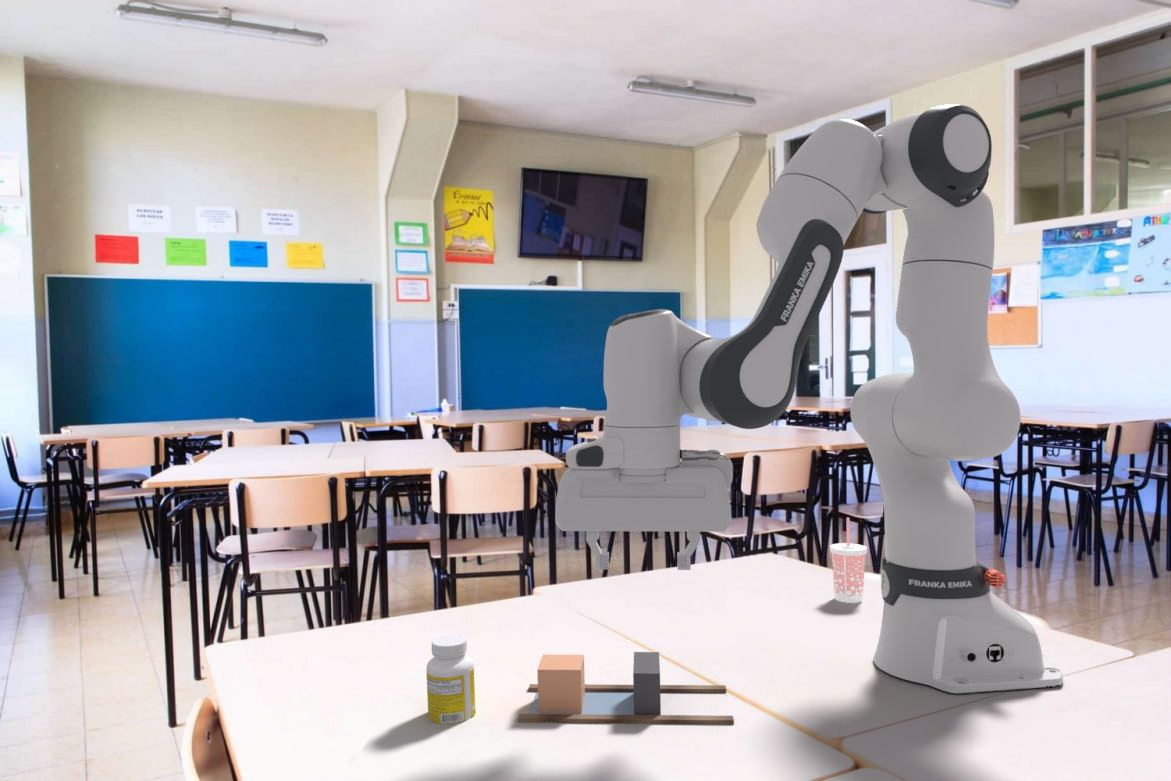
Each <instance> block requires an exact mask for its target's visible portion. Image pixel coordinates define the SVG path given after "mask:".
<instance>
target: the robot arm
mask: <svg viewBox="0 0 1171 781" xmlns="http://www.w3.org/2000/svg"><path fill="white" fill-rule="evenodd" d="M811 133H812V132H811ZM990 133H991V132H990V130H989V127H988V125H987V124H986V122H985V121H984V119H983V117H982V116H981V115H980V114H979V112H977V110H975V109H973V108H972V107H970V106H969V105H968V106H967V105H963V104H944V105H937V106H933V107H931V108H928V109H926V110H925V111H922V112H919V113H914V114H913V113H912V114H910V115H907V116H904V117H901V118H899V119H896V120H894V121H891V122H890V123H888V124H886V125H885V126H883V127H880V128H878V129H877V130H875V131H872V130H871V129H870V128H869V127H867V126H866V125H864V124H862V123H860V122H858V121H855V120H852V119H847V118H846V119H845V118H839V119H833V120H829V121H827V122H824V123H823V124H821V125H820V126H819V127H817V128H816V129H815V130H814V131H813V133H812V134H810V135H809V137H808V138H807V139H806V140H805V141H804V142H803V144H802V145H801V146H800V147H799V148H798V150H797V151H795V153H794V155H792V157H791V159H790V160H789V161H788V162H787V164H786V165H785V167H784V168H783V170H782V171H781V172H780V175H779V176H778V178H777V179H776V181H775V182H774V184H773V186H772V187H771V189H770V191H769V192H768V194H767V196H766V198H765V200H764V201H763V205H762V206H761V209H760V212H759V213H758V214H759V215H758V218H757V221H756V223H755V224H756V226H755V227H756V232H757V236H758V239H759V243H760V244H761V246H762V248H763V249H764V251H765V253H767V254H768V256H769V257H770V258H772V259H773V260H774V261H776V262H777V267H776V271H775V273H774V275H773V277H772V280H771V281H770V283H769V285H768V287H767V289H766V292H765V293H764V296H763V297H762V299H761V302H760V304H759V306H758V307H757V310H756V312H755V313H754V316H753V317H752V319H751V321H750V322H749V323H748V325H746V326H745V327H744V328H742V330H740V331H739V332H737V333H735V334H734V335H732V336H729V337H722V338H720V337H719V338H717V337H713V336H712V335H709V334H706V333H704V332H701V331H699V330H698V329H696V328H694V327H692V326H690V325H688V324H687V323H685V322H683V321H682V320H681V319H680V318H678V317H677V315H675V313H674V312H673V311H672V310H670V309H666V308H658V309H657V308H656V309H651V310H645V311H639V312H634V313H629V314H624V315H621V316H619V317H617V318H616V319H614V320H613V321H612V323H610V324H609V326H608V329H607V332H606V338H605V345H604V357H603V391H604V394H605V397H606V406H607V407H606V413H605V415H604V419H603V420H604V421H603V435H602V436H600V437H593V438H590V439H588V440H587V441H584V442H579V443H577V444H574V445H573V446H571V447H569V448H568V449H567V450H566V453H565V463H566V465H567V467H568V468H567V469H566V470H565V471H564V473H563V475H562V476H561V477H560V481H559V483H558V486H557V487H558V488H557V493H556V494H557V495H556V501H555V518H554V520H555V525H556V526H557V527H558V528H559V529H560V530H561V531H562V532H585V541H586V543H587V544H588V546H589V548H590V550H591V551H592V553H593V554H594V555H595V569H596V570H599V571H600V570H609V569H610V561H609V559H610V551H603V550H602V548H601V547H600V545H599V543H598V540H599V536H600V532H686V537H687V541H689V542H688V544H687V545H686V548H685V549H684V551H677V553H676V554H677V555H676V556H677V563H676V564H677V566H676V567H677V570H678V571H691V568H692V566H691V557H692V556H693V554H694V552H695V550H696V549H697V548H698V545H699V544H700V542H701V532H702V533H703V532H710V533H711V532H713V533H714V532H718V533H719V532H721V533H722V532H725V531H726V530H727V529H728V528H730V526H731V524H732V514H731V513H732V510H731V503H730V502H731V501H730V493H729V487H730V486H731V485H732V483H733V479H734V465H733V461H732V460H731V459H730V457H729V456H728V455H726V454H725V453H724V454H723V453H720V450H718V449H717V450H716V449H708V450H699V449H681V418H682V417H683V416H684V415H687V416H690V417H693V418H697V419H701V420H702V419H703V420H706V421H713V422H720V423H724V424H727V425H730V426H733V427H737V428H740V429H743V430H753V429H754V430H755V429H759V428H763V427H766V426H768V425H770V424H772V423H773V422H775V421H777V420H778V419H779V418H780V417H781V416H782V415H784V413H785V412H786V410H787V409H788V407H789V405H791V404H790V403H791V402H792V400H793V396H794V393H795V390H796V385H797V380H798V372H799V368H800V362H801V359H802V355H803V353H804V352H803V351H804V349H805V347H806V344H807V341H808V340H809V337H810V336H811V333H812V331H813V329H814V326H815V323H817V320H818V317H819V315H820V313H821V311H822V309H823V307H824V305H825V302H826V300H827V298H828V296H829V293H830V291H831V289H832V287H833V285H834V283H835V280H836V278H837V275H838V273H839V270H840V267H841V264H842V261H843V256H844V251H845V250H844V249H845V248H844V247H845V244H846V241H847V240H848V238H849V236H850V234H851V232H852V230H853V229H854V227H855V225H856V223H857V221H858V220H859V218H860V217H861V215H862V214H868V215H876V214H877V215H878V214H883V213H887V212H889V211H898V210H902V213H903V215H904V218H905V222H906V226H907V236H906V241H905V245H904V251H903V257H902V264H901V271H900V272H901V273H900V279H899V287H898V288H899V289H898V295H897V304H896V305H897V306H896V312H895V324H896V327H897V329H898V330H899V332H900V333H901V334H902V335H903V336H904V337H905V338H906V339H907V341H908V344H909V347H910V351H911V355H912V361H913V372H894V373H888V374H885V375H882V376H879V377H876V378H872V379H870V380H868V381H866V382H864V383H863V384H862V385H860V386H859V388H858V389H857V390H855V391H856V392H855V393H854V396H853V397H852V400H851V404H850V408H849V409H850V419H851V420H850V421H851V424H852V426H853V428H854V430H855V431H856V433H857V434H858V435H859V437H860V438H861V439H862V440H863V442H864V443H865V445H866V447H867V449H868V451H869V455H870V456H871V459H872V462H873V465H874V468H875V472H876V475H877V478H878V483H879V487H880V490H881V495H882V502H883V503H882V504H883V512H884V513H883V514H884V515H883V516H884V517H883V518H884V519H883V520H884V545H885V546H884V548H885V549H884V550H885V555H884V556H883V557H882V560H881V570H880V590H881V596H882V597H881V598H882V600H883V609H882V610H883V611H882V619H881V625H880V632H879V638H878V641H877V646H876V649H875V652H874V655H873V658H872V659H873V664H875V666H876V667H877V668H879V670H882V671H883V672H885V673H886V674H889V675H891V676H894V677H897V678H900V679H902V680H906V681H909V682H914V683H918V684H923V685H927V686H930V687H933V688H934V689H935V688H936V689H938V690H941V691H943V692H947V693H950V694H966V693H968V694H969V693H970V694H971V693H980V692H981V693H982V692H993V691H994V692H995V691H996V692H997V691H1009V690H1010V691H1011V690H1022V689H1024V690H1025V689H1037V688H1039V689H1040V688H1050V687H1049V686H1052V687H1056V686H1055V685H1060V684H1062V685H1063V683H1062V682H1064V678H1063V672H1062V670H1061V669H1060V667H1059V666H1058V665H1057V664H1056V663H1055V662H1054V661H1053V660H1052V659H1050V658H1049V657H1047V656H1045V655H1043V651H1042V646H1041V642H1040V639H1039V635H1038V633H1037V631H1036V629H1035V628H1034V626H1033V624H1032V623H1031V622H1030V621H1029V620H1028V619H1026V617H1024V615H1022V614H1020V613H1019V612H1018V611H1016V610H1015V609H1014V608H1013V607H1012V606H1010V605H1009V604H1008V603H1006V602H1005V600H1004V601H1003V599H1001V598H1000V597H998V596H997V595H996V594H994V593H993V592H991V586H992V587H993V588H995V589H999V588H1002V587H1003V586H1004V585H1005V584H1006V581H1007V579H1006V576H1005V575H1004V574H1003V573H1002V572H1000V571H998V569H996V568H988V567H987V566H984V565H982V564H981V563H979V562H978V561H976V510H975V505H974V502H973V500H972V498H971V497H970V495H969V494H968V493H967V492H966V491H965V490H964V489H963V487H962V486H961V485H960V483H959V482H958V479H957V478H956V475H955V473H954V471H953V468H952V465H951V461H956V462H967V461H978V460H984V459H991V458H995V457H997V456H1000V455H1001V454H1003V453H1005V452H1006V451H1007V450H1008V449H1010V447H1011V446H1012V445H1013V443H1014V441H1015V440H1016V438H1017V436H1018V434H1019V431H1020V427H1021V426H1020V425H1021V409H1020V404H1019V402H1018V400H1017V398H1016V396H1015V394H1014V393H1013V391H1012V390H1011V389H1010V388H1009V387H1008V386H1007V385H1006V384H1005V382H1004V381H1002V379H1001V377H1000V376H999V374H998V372H997V369H996V367H995V364H994V361H993V357H992V353H991V348H990V344H989V337H988V336H989V334H988V318H989V309H990V308H989V306H990V296H991V286H992V285H991V284H992V277H993V269H994V260H995V220H994V210H993V203H992V200H991V199H990V197H989V196H988V195H987V193H985V191H983V190H984V188H985V186H986V185H987V182H988V178H989V173H990V172H989V171H990V167H991V163H992V153H993V152H992V150H993V149H992V148H993V146H992V142H993V141H992V137H991V134H990ZM720 458H721V459H720ZM722 458H723V459H722ZM1046 686H1048V687H1046ZM1060 686H1061V685H1060Z"/></svg>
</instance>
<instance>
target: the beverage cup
mask: <svg viewBox="0 0 1171 781" xmlns="http://www.w3.org/2000/svg"><path fill="white" fill-rule="evenodd" d="M850 530H851V528H850V517H846V542H842V543H840V542H838V543H832V544H830V545H829V552H830V553H831V561H832V562H831V563H832V564H831V565H832V576H833V577H832V578H833V590H834V591H833V592H834V599H835V600H836V601H838V602H842V603H848V604H849V603H850V604H857V603H861V602H863V601H864V599H863V598H864V586H865V584H864V583H865V568H866V554H867V553H868V547H867V546H866V545H862V544H860V543H859V544H857V543H851V542H850V539H851V538H850V536H851V533H850Z"/></svg>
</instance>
